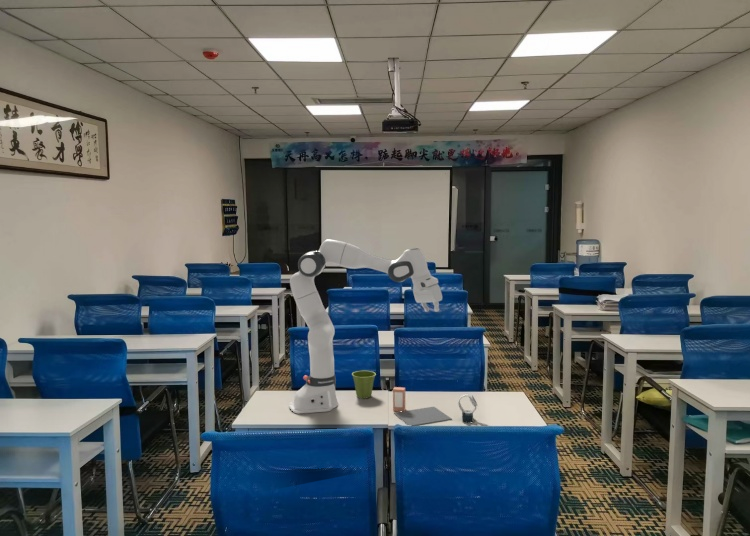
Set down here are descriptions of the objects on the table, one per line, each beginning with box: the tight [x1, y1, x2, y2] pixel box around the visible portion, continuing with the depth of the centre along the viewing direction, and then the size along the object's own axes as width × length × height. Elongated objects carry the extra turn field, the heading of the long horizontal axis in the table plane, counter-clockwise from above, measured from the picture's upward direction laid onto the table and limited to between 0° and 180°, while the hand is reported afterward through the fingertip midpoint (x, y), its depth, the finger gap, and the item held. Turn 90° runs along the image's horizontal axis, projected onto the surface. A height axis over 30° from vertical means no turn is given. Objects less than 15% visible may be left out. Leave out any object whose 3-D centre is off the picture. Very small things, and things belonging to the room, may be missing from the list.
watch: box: [457, 393, 478, 423], centre depth 213 cm, size 6×8×11 cm
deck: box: [392, 386, 406, 412], centre depth 225 cm, size 3×5×10 cm, turn 77°
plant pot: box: [351, 370, 377, 399], centre depth 245 cm, size 12×12×11 cm
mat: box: [393, 406, 452, 426], centre depth 218 cm, size 20×16×1 cm
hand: (432, 311), depth 226 cm, fingers open, 8 cm apart
